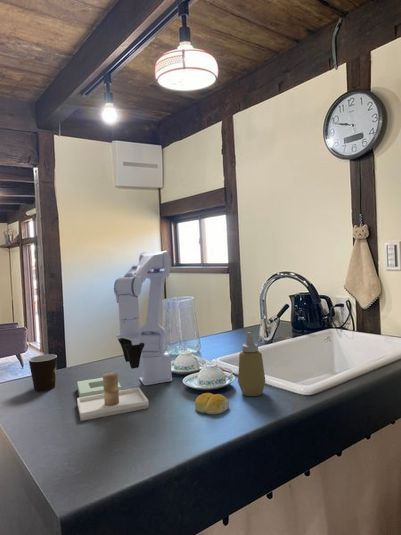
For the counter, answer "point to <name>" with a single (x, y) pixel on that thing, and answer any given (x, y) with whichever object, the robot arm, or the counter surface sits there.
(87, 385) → the pin holder
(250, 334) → the squeeze bottle
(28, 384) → the counter surface
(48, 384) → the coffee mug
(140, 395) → the tray
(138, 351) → the robot arm
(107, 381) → the oak pin
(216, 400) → the bread roll
